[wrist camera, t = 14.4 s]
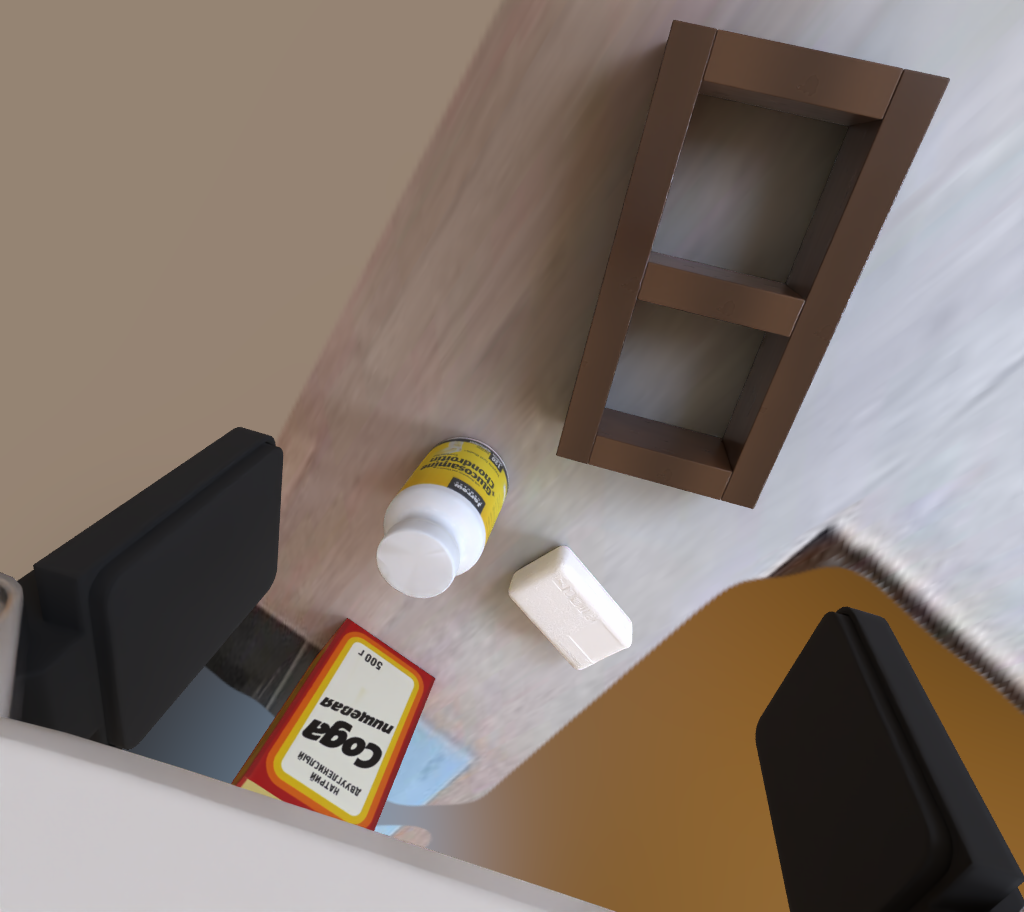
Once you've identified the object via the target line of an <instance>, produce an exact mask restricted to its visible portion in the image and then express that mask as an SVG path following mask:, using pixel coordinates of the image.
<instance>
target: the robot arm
mask: <svg viewBox="0 0 1024 912" xmlns="http://www.w3.org/2000/svg"><path fill="white" fill-rule="evenodd" d="M282 469H283V451H282V449H281V448H280V447H277V446H276V445H275V441H274V438H273V437H272V436H269V435H266V434H262V433H259V432H256V431H252V430H249V429H245V428H242V427H237V428H235V429H233V430H231V431H230V432H228V433H227V434H225V435H224V436H223V437H221V438H220V439H218V440H217V441H215V442H214V443H212V444H211V445H209V446H208V447H206V448H205V449H203V450H202V451H201V452H199V453H198V454H196V455H195V456H193V457H192V458H190V459H189V460H187V461H186V462H185V463H183V464H181V465H180V466H178V467H177V468H176V469H174V470H172V471H171V472H170V473H168V474H167V475H165V476H164V477H162V478H161V479H159V480H158V481H156V482H155V483H153V484H152V485H150V486H149V487H148V488H146V489H144V490H143V491H142V492H140V493H139V494H137V495H136V496H134V497H133V498H131V499H130V500H128V501H127V502H126V503H124V504H122V505H121V506H119V507H118V508H117V509H115V510H114V511H112V512H111V513H109V514H108V515H106V516H105V517H103V518H102V519H100V520H99V521H97V522H96V523H94V524H93V525H92V526H90V527H89V528H87V529H86V530H84V531H83V532H81V533H80V534H78V535H77V536H75V537H74V538H73V539H71V540H69V541H68V542H66V543H65V544H63V545H62V546H61V547H59V548H58V549H56V550H55V551H53V552H52V553H50V554H49V555H48V556H46V557H44V558H43V559H41V560H40V561H38V562H37V563H35V564H34V565H33V567H34V570H33V571H31V572H30V573H28V574H27V575H25V576H24V577H22V578H21V579H20V580H18V581H16V580H15V579H14V578H13V577H11V576H8V575H6V574H4V573H1V572H0V912H615V911H612V910H609V909H606V908H604V907H601V906H598V905H595V904H591V903H588V902H585V901H582V900H579V899H576V898H573V897H571V896H568V895H564V894H561V893H559V892H556V891H553V890H550V889H547V888H544V887H541V886H538V885H534V884H532V883H529V882H526V881H522V880H519V879H517V878H514V877H511V876H508V875H505V874H502V873H499V872H496V871H493V870H490V869H487V868H484V867H481V866H478V865H475V864H472V863H469V862H466V861H463V860H460V859H457V858H454V857H450V856H448V855H445V854H442V853H439V852H436V851H433V850H430V849H427V848H424V847H421V846H418V845H415V844H412V843H408V842H405V841H402V840H399V839H396V838H393V837H390V836H387V835H384V834H381V833H378V832H375V831H372V830H369V829H366V828H363V827H360V826H357V825H354V824H351V823H348V822H345V821H342V820H339V819H336V818H333V817H330V816H327V815H323V814H320V813H317V812H314V811H311V810H308V809H305V808H302V807H299V806H296V805H293V804H290V803H287V802H284V801H281V800H278V799H274V798H271V797H268V796H265V795H262V794H259V793H256V792H253V791H250V790H247V789H244V788H241V787H238V786H235V785H232V784H229V783H225V782H222V781H219V780H216V779H213V778H210V777H207V776H204V775H201V774H198V773H195V772H192V771H189V770H186V769H182V768H179V767H176V766H173V765H169V764H166V763H163V762H159V761H156V760H153V759H150V758H147V757H143V756H140V755H137V754H134V753H130V752H127V751H123V750H122V748H124V749H127V750H129V749H132V748H133V747H135V746H136V745H137V744H138V743H139V742H140V741H141V740H142V739H143V738H144V737H145V736H146V734H147V733H148V732H149V731H150V730H151V728H152V727H153V726H154V725H155V724H156V723H157V721H158V720H159V719H160V718H161V717H162V716H163V714H164V713H165V712H166V711H167V709H168V708H169V707H170V706H171V705H172V704H173V702H174V701H175V700H176V699H177V698H178V697H179V695H180V694H181V693H182V692H183V691H184V689H185V688H186V687H187V686H188V684H189V683H190V682H191V681H192V680H193V679H194V678H195V677H196V675H197V674H198V673H199V672H200V671H201V669H202V668H203V667H204V666H205V665H206V664H207V662H208V661H209V660H210V659H211V658H212V656H213V655H214V654H215V653H216V652H217V651H218V649H219V648H220V647H221V646H222V645H223V643H224V642H225V641H226V640H227V639H228V638H229V636H230V635H231V634H232V633H233V632H234V630H235V629H236V628H237V627H238V626H239V625H240V623H241V622H242V621H243V620H244V619H245V617H246V616H247V615H248V614H249V613H250V612H251V610H252V609H253V608H254V607H255V606H256V604H257V603H258V602H259V601H260V600H261V599H262V597H263V596H264V595H265V594H266V593H267V592H268V590H269V589H270V587H271V585H272V584H273V581H274V579H275V576H276V572H277V559H278V541H279V523H280V505H281V487H282ZM756 746H757V750H758V756H759V760H760V765H761V771H762V775H763V780H764V785H765V790H766V795H767V800H768V805H769V810H770V815H771V820H772V825H773V830H774V835H775V839H776V844H777V849H778V854H779V859H780V864H781V869H782V874H783V879H784V884H785V889H786V894H787V898H788V903H789V908H790V912H1024V899H1023V897H1022V895H1021V893H1020V891H1019V889H1018V886H1019V885H1020V884H1022V883H1023V882H1024V875H1023V873H1022V872H1021V870H1020V868H1019V866H1018V864H1017V863H1016V860H1015V859H1014V857H1013V855H1012V853H1011V851H1010V849H1009V848H1008V845H1007V844H1006V842H1005V840H1004V838H1003V836H1002V834H1001V832H1000V831H999V829H998V827H997V825H996V823H995V821H994V819H993V818H992V816H991V814H990V812H989V810H988V808H987V806H986V805H985V803H984V801H983V799H982V797H981V795H980V793H979V792H978V790H977V788H976V786H975V784H974V782H973V780H972V779H971V777H970V775H969V773H968V771H967V769H966V768H965V766H964V764H963V762H962V760H961V758H960V756H959V754H958V752H957V751H956V749H955V747H954V745H953V743H952V741H951V740H950V738H949V736H948V734H947V732H946V730H945V728H944V726H943V725H942V723H941V721H940V719H939V717H938V715H937V713H936V712H935V710H934V708H933V706H932V704H931V703H930V700H929V699H928V697H927V695H926V693H925V691H924V689H923V687H922V686H921V684H920V682H919V680H918V678H917V676H916V674H915V673H914V671H913V669H912V667H911V665H910V663H909V661H908V659H907V658H906V656H905V654H904V652H903V650H902V649H901V646H900V645H899V643H898V641H897V639H896V637H895V635H894V634H893V632H892V630H891V628H890V626H889V624H888V623H887V621H886V620H885V619H884V618H882V617H880V616H876V615H873V614H870V613H866V612H863V611H860V610H857V609H853V608H850V607H842V608H841V609H839V610H838V611H837V612H836V613H835V612H828V613H827V614H825V615H824V617H823V618H822V620H821V622H820V623H819V624H818V626H817V628H816V629H815V631H814V632H813V634H812V636H811V637H810V639H809V641H808V642H807V644H806V645H805V647H804V649H803V650H802V652H801V654H800V655H799V657H798V658H797V660H796V661H795V663H794V665H793V666H792V668H791V669H790V671H789V673H788V674H787V676H786V677H785V679H784V681H783V682H782V684H781V685H780V687H779V689H778V690H777V692H776V693H775V695H774V697H773V698H772V700H771V702H770V703H769V705H768V706H767V708H766V709H765V711H764V713H763V715H762V716H761V717H760V719H759V722H758V724H757V728H756Z"/></svg>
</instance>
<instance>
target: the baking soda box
mask: <svg viewBox="0 0 1024 912" xmlns="http://www.w3.org/2000/svg"><path fill="white" fill-rule="evenodd" d="M434 681H435V678H434V677H432V676H431V675H429V674H428V673H426V672H425V671H424V670H422V669H421V668H419V667H418V666H416V665H415V664H413V663H412V662H410V661H409V660H408V659H406V658H405V657H403V656H402V655H400V654H399V653H397V652H396V651H395V650H393V649H392V648H390V647H389V646H387V645H386V644H384V643H383V642H382V641H380V640H379V639H377V638H376V637H374V636H373V635H371V634H370V633H368V632H367V631H366V630H364V629H363V628H361V627H360V626H358V625H357V624H355V623H354V622H353V621H351V620H350V619H348V618H347V619H346V620H345V622H344V623H343V624H342V625H341V626H340V628H339V629H338V630H337V631H336V633H335V634H334V635H333V636H332V638H331V639H330V640H329V641H328V642H327V644H326V645H325V646H324V647H323V649H322V650H321V651H320V652H319V654H318V655H317V656H316V657H315V658H314V660H313V661H312V663H311V664H310V666H309V667H308V669H307V670H306V672H305V673H304V675H303V677H302V678H301V680H300V681H299V683H298V684H297V686H296V687H295V689H294V690H293V692H292V693H291V695H290V696H289V698H288V699H287V701H286V702H285V704H284V705H283V707H282V708H281V710H280V711H279V713H278V714H277V716H276V717H275V719H274V720H273V722H272V723H271V725H270V726H269V728H268V729H267V731H266V732H265V734H264V735H263V737H262V738H261V740H260V741H259V743H258V744H257V746H256V747H255V749H254V750H253V752H252V753H251V755H250V756H249V758H248V759H247V761H246V762H245V764H244V765H243V767H242V768H241V770H240V771H239V773H238V774H237V776H236V777H235V779H234V780H233V782H232V783H231V784H232V785H235V786H238V787H241V788H244V789H247V790H250V791H253V792H256V793H259V794H262V795H265V796H268V797H271V798H274V799H278V800H281V801H284V802H287V803H290V804H293V805H296V806H299V807H302V808H305V809H308V810H311V811H314V812H317V813H320V814H323V815H327V816H330V817H333V818H336V819H339V820H342V821H345V822H348V823H351V824H354V825H357V826H360V827H363V828H366V829H369V830H372V831H374V830H375V827H376V825H377V822H378V819H379V817H380V815H381V812H382V810H383V807H384V805H385V802H386V800H387V797H388V795H389V792H390V790H391V787H392V785H393V782H394V780H395V778H396V775H397V773H398V770H399V768H400V765H401V763H402V760H403V758H404V755H405V753H406V750H407V748H408V745H409V743H410V740H411V738H412V735H413V733H414V730H415V728H416V725H417V723H418V720H419V718H420V715H421V713H422V710H423V708H424V705H425V703H426V700H427V698H428V695H429V693H430V691H431V688H432V686H433V683H434Z"/></svg>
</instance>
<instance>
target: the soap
mask: <svg viewBox="0 0 1024 912" xmlns="http://www.w3.org/2000/svg"><path fill="white" fill-rule="evenodd" d="M509 596H510V598H511V599H512V600H513V601H514V602H515V603H516V604H517V606H518V607H519V608H520V609H521V610H522V611H523V612H524V613H525V615H526V616H527V617H528V618H529V619H530V620H531V621H532V622H533V623H534V625H535V626H536V627H537V628H538V629H539V630H540V631H541V632H542V633H543V634H544V636H545V637H546V638H547V639H548V640H549V641H550V642H551V643H552V644H553V645H554V647H555V648H556V649H557V650H558V651H559V652H560V653H561V654H562V655H563V657H564V658H565V659H566V660H567V661H568V662H569V663H570V664H571V665H572V667H573V668H575V669H577V670H581V669H584V668H586V667H588V666H590V665H592V664H595V663H596V662H597V661H599V660H601V659H603V658H606V657H608V656H610V655H612V654H614V653H616V652H618V651H621V650H623V649H625V648H628V647H629V646H630V645H631V643H632V622H631V620H630V619H629V618H628V616H627V615H626V614H625V613H624V612H623V611H622V609H621V608H620V607H619V606H618V605H617V603H616V602H615V601H614V600H613V599H612V598H611V596H610V595H609V594H608V593H607V592H606V591H605V589H604V588H603V587H602V586H601V585H600V583H599V582H598V581H597V580H596V579H595V578H594V576H593V575H592V574H591V573H590V572H589V571H588V569H587V568H586V567H585V566H584V565H583V564H582V562H581V561H580V560H579V559H578V558H577V556H576V555H575V554H574V553H573V552H572V551H571V549H570V548H569V547H567V546H559V547H557V548H556V549H554V550H552V551H551V552H549V553H547V554H545V555H544V556H542V557H540V558H538V559H537V560H535V561H533V562H532V563H530V564H528V565H526V566H525V567H523V568H521V569H520V570H518V571H516V572H515V573H514V575H513V577H512V581H511V584H510V587H509Z"/></svg>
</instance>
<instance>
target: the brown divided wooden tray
mask: <svg viewBox="0 0 1024 912" xmlns="http://www.w3.org/2000/svg"><path fill="white" fill-rule="evenodd" d="M949 81H950V79H949V78H946V77H941V76H936V75H931V74H927V73H922V72H917V71H912V70H908V69H904V70H903V69H902V68H899V67H894V66H889V65H884V64H880V63H875V62H870V61H865V60H861V59H856V58H851V57H847V56H842V55H837V54H832V53H828V52H823V51H818V50H814V49H809V48H804V47H799V46H795V45H790V44H785V43H780V42H776V41H771V40H766V39H762V38H757V37H752V36H747V35H743V34H738V33H733V32H729V31H724V30H717V29H715V28H710V27H705V26H701V25H696V24H691V23H686V22H682V21H677V20H673V22H672V26H671V30H670V34H669V37H668V41H667V45H666V48H665V52H664V56H663V60H662V63H661V67H660V71H659V74H658V78H657V82H656V86H655V89H654V93H653V97H652V100H651V104H650V108H649V112H648V115H647V119H646V123H645V126H644V130H643V134H642V138H641V141H640V145H639V149H638V152H637V156H636V160H635V164H634V167H633V171H632V175H631V178H630V182H629V186H628V190H627V193H626V197H625V201H624V204H623V208H622V212H621V216H620V219H619V223H618V227H617V230H616V234H615V238H614V242H613V245H612V249H611V253H610V256H609V260H608V264H607V268H606V271H605V275H604V279H603V282H602V286H601V290H600V294H599V297H598V301H597V305H596V308H595V312H594V316H593V320H592V323H591V327H590V331H589V334H588V338H587V342H586V346H585V349H584V353H583V357H582V360H581V364H580V368H579V372H578V375H577V379H576V383H575V386H574V390H573V394H572V398H571V401H570V405H569V409H568V412H567V416H566V420H565V424H564V427H563V431H562V435H561V438H560V442H559V446H558V450H557V453H556V455H557V456H560V457H564V458H568V459H571V460H575V461H579V462H582V463H586V464H590V465H594V466H597V467H601V468H605V469H608V470H612V471H616V472H619V473H623V474H627V475H630V476H634V477H638V478H641V479H645V480H649V481H652V482H656V483H660V484H663V485H667V486H671V487H674V488H678V489H682V490H685V491H689V492H693V493H696V494H700V495H704V496H707V497H711V498H715V499H718V500H720V499H721V500H722V501H726V502H729V503H733V504H737V505H740V506H744V507H748V508H751V509H754V507H755V505H756V503H757V500H758V498H759V496H760V494H761V492H762V490H763V487H764V485H765V483H766V481H767V479H768V476H769V474H770V472H771V470H772V468H773V466H774V463H775V461H776V459H777V457H778V455H779V452H780V450H781V448H782V446H783V444H784V441H785V439H786V437H787V435H788V433H789V431H790V428H791V426H792V424H793V422H794V420H795V417H796V415H797V413H798V411H799V409H800V407H801V404H802V402H803V400H804V398H805V396H806V393H807V391H808V389H809V387H810V385H811V382H812V380H813V378H814V376H815V374H816V372H817V369H818V367H819V365H820V363H821V361H822V358H823V356H824V354H825V352H826V350H827V348H828V345H829V343H830V341H831V339H832V337H833V334H834V332H835V330H836V328H837V326H838V324H839V321H840V319H841V317H842V315H843V313H844V310H845V308H846V306H847V304H848V302H849V299H850V297H851V295H852V293H853V291H854V289H855V286H856V284H857V282H858V280H859V278H860V275H861V273H862V271H863V269H864V267H865V265H866V262H867V260H868V258H869V256H870V254H871V251H872V249H873V247H874V245H875V243H876V241H877V238H878V236H879V234H880V232H881V230H882V227H883V225H884V223H885V221H886V219H887V216H888V214H889V212H890V210H891V208H892V206H893V203H894V201H895V199H896V197H897V195H898V192H899V190H900V188H901V186H902V184H903V182H904V179H905V177H906V175H907V173H908V171H909V168H910V166H911V164H912V162H913V160H914V157H915V155H916V153H917V151H918V149H919V147H920V144H921V142H922V140H923V138H924V136H925V133H926V131H927V129H928V127H929V125H930V123H931V120H932V118H933V116H934V114H935V112H936V109H937V107H938V105H939V103H940V101H941V99H942V96H943V94H944V92H945V90H946V88H947V85H948V83H949ZM698 93H700V94H704V95H709V96H713V97H718V98H722V99H727V100H731V101H736V102H741V103H745V104H750V105H754V106H759V107H763V108H768V109H772V110H777V111H781V112H786V113H790V114H795V115H799V116H804V117H808V118H813V119H818V120H822V121H827V122H831V123H836V124H840V125H845V126H849V129H848V131H847V134H846V136H845V138H844V141H843V143H842V146H841V148H840V151H839V153H838V156H837V158H836V161H835V163H834V166H833V168H832V171H831V173H830V176H829V178H828V180H827V183H826V185H825V188H824V190H823V193H822V195H821V198H820V200H819V203H818V205H817V208H816V210H815V213H814V215H813V217H812V220H811V222H810V225H809V227H808V230H807V232H806V235H805V237H804V240H803V242H802V245H801V247H800V250H799V252H798V254H797V257H796V259H795V262H794V264H793V267H792V269H791V272H790V274H789V277H788V279H787V282H786V284H784V283H781V282H776V281H772V280H768V279H764V278H760V277H756V276H752V275H748V274H743V273H739V272H735V271H731V270H727V269H723V268H719V267H715V266H711V265H706V264H702V263H698V262H694V261H690V260H686V259H682V258H678V257H673V256H669V255H665V254H661V253H657V252H653V251H651V250H652V247H653V243H654V240H655V237H656V233H657V230H658V227H659V223H660V220H661V217H662V213H663V210H664V206H665V203H666V200H667V196H668V193H669V190H670V186H671V183H672V180H673V176H674V173H675V170H676V166H677V163H678V160H679V156H680V153H681V149H682V146H683V143H684V139H685V136H686V133H687V129H688V126H689V123H690V119H691V116H692V113H693V109H694V106H695V103H696V99H697V96H698ZM637 299H638V300H642V301H646V302H650V303H654V304H658V305H662V306H666V307H670V308H674V309H678V310H682V311H686V312H690V313H694V314H698V315H702V316H706V317H710V318H714V319H718V320H722V321H726V322H730V323H734V324H738V325H742V326H746V327H750V328H754V329H758V330H762V331H766V333H765V336H764V338H763V341H762V343H761V346H760V348H759V351H758V353H757V356H756V358H755V361H754V363H753V366H752V368H751V370H750V373H749V375H748V378H747V380H746V383H745V385H744V388H743V390H742V393H741V395H740V398H739V400H738V403H737V405H736V408H735V410H734V412H733V415H732V417H731V420H730V422H729V425H728V427H727V430H726V432H725V435H724V437H723V439H722V438H718V437H714V436H710V435H707V434H703V433H699V432H695V431H691V430H688V429H684V428H680V427H676V426H673V425H669V424H665V423H661V422H657V421H654V420H650V419H646V418H642V417H639V416H635V415H631V414H627V413H623V412H620V411H616V410H612V409H608V408H605V404H606V401H607V398H608V394H609V391H610V387H611V384H612V381H613V377H614V374H615V371H616V367H617V364H618V361H619V357H620V354H621V351H622V347H623V344H624V341H625V337H626V334H627V330H628V327H629V324H630V320H631V317H632V314H633V310H634V307H635V304H636V300H637Z"/></svg>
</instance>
